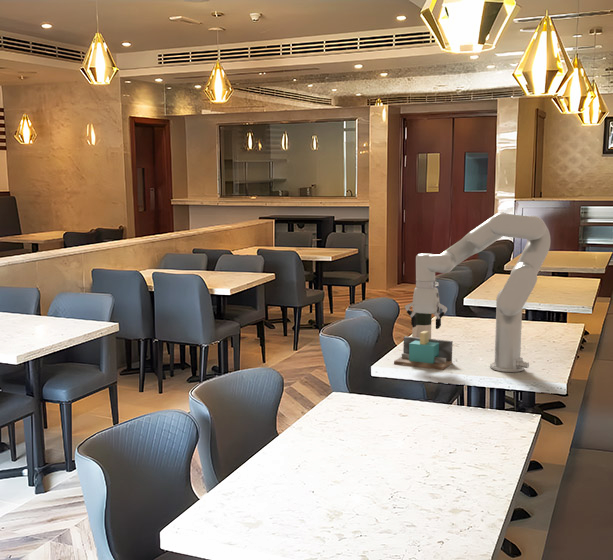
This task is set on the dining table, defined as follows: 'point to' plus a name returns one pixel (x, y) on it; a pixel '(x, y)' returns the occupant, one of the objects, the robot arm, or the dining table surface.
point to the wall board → (421, 364)
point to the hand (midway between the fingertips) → (426, 327)
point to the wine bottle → (422, 324)
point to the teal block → (423, 349)
